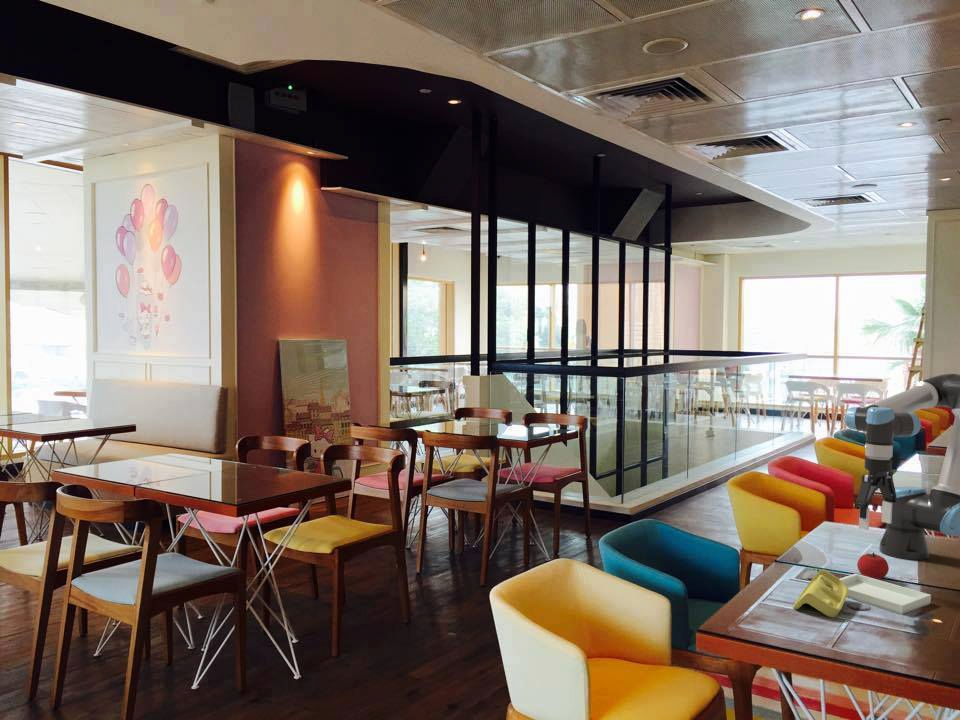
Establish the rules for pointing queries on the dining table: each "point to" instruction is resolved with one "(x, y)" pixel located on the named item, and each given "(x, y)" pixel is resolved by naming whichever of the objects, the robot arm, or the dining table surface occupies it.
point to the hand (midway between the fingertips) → (875, 525)
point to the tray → (884, 594)
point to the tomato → (873, 566)
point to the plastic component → (824, 594)
